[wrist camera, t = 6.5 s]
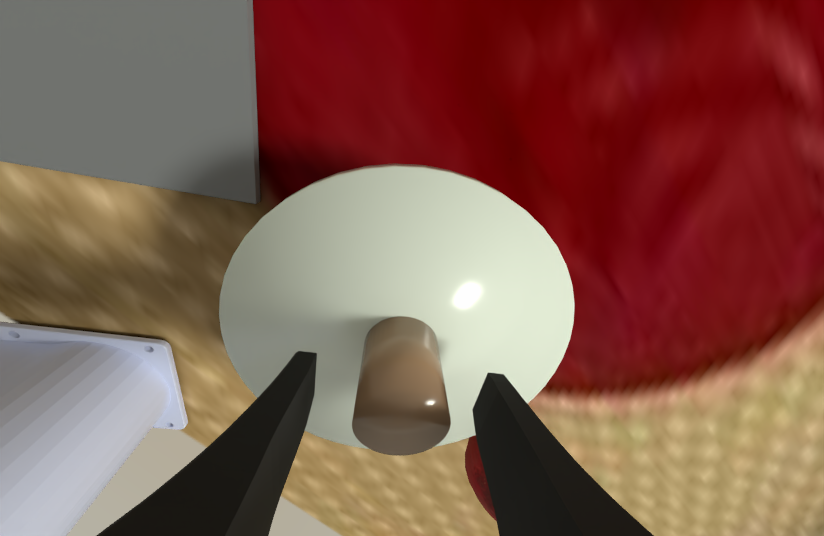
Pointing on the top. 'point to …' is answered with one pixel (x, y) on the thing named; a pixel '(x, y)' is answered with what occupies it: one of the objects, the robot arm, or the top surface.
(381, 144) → the top surface
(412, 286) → the lid
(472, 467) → the onion
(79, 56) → the mat
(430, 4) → the top surface
